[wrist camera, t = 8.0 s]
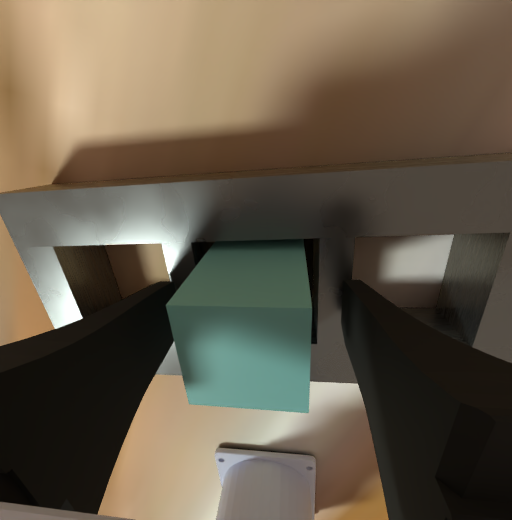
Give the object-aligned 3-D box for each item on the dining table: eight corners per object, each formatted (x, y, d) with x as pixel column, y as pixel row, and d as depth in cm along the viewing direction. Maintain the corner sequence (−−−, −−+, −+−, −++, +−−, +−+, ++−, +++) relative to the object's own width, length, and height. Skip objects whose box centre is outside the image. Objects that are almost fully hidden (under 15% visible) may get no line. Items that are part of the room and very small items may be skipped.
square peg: (301, 296, 15) (308, 412, 8) (231, 295, 15) (189, 404, 9) (301, 228, 13) (312, 308, 7) (224, 229, 14) (165, 305, 7)
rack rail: (464, 344, 15) (504, 390, 12) (108, 335, 18) (74, 370, 15) (525, 151, 11) (606, 154, 8) (50, 184, 14) (-9, 194, 11)
